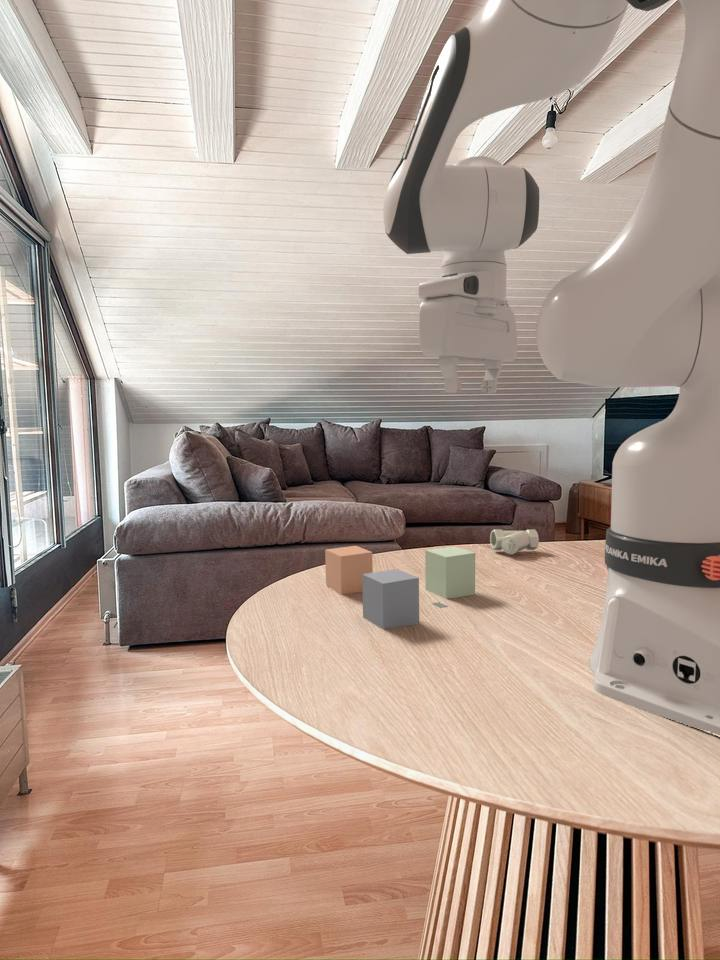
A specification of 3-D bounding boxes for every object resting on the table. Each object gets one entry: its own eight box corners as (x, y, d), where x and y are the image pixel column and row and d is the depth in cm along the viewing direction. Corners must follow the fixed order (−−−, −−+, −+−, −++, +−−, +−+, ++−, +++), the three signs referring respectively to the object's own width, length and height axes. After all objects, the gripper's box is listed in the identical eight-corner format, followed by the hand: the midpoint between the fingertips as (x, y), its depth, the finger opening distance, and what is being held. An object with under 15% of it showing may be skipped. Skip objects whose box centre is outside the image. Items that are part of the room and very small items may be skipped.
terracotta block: (372, 593, 91) (372, 552, 91) (341, 598, 89) (340, 556, 88) (356, 585, 96) (355, 545, 95) (326, 590, 93) (325, 549, 93)
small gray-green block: (447, 607, 84) (447, 606, 84) (440, 608, 84) (440, 607, 84) (438, 603, 86) (438, 602, 86) (431, 604, 85) (431, 603, 85)
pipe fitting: (503, 536, 112) (490, 527, 118) (502, 557, 112) (489, 547, 119) (547, 536, 113) (532, 527, 119) (545, 557, 113) (530, 547, 120)
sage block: (475, 594, 90) (475, 552, 89) (446, 600, 88) (445, 557, 87) (453, 586, 94) (453, 546, 94) (425, 591, 92) (425, 550, 91)
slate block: (419, 626, 77) (419, 577, 77) (383, 633, 75) (382, 583, 74) (397, 615, 82) (397, 568, 81) (363, 621, 79) (362, 574, 79)
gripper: (490, 301, 97) (489, 393, 99) (410, 283, 82) (409, 392, 83) (529, 297, 93) (526, 393, 95) (452, 276, 78) (451, 391, 79)
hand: (471, 392), depth 89 cm, fingers open, 8 cm apart
